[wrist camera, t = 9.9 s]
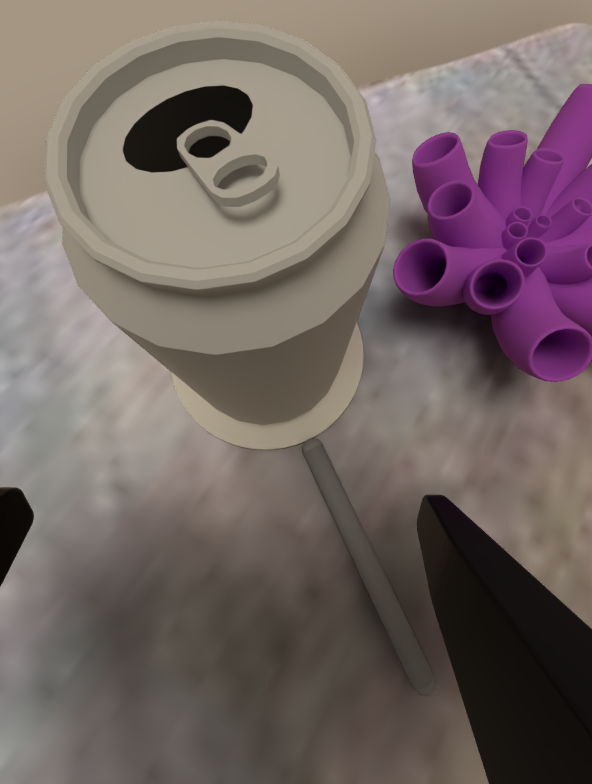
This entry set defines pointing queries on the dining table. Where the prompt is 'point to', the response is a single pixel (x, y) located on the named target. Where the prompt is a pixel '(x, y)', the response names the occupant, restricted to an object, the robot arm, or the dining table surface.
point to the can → (223, 209)
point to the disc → (284, 431)
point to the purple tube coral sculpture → (512, 239)
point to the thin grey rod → (370, 569)
